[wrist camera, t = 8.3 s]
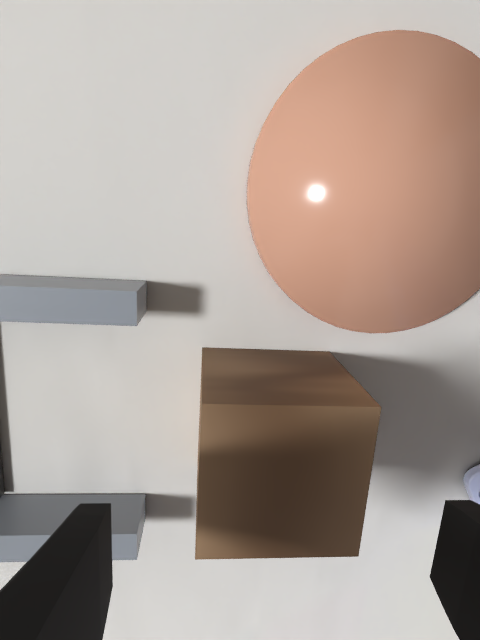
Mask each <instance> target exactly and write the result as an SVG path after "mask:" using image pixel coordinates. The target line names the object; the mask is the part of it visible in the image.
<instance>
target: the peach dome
mask: <svg viewBox="0 0 480 640" xmlns="http://www.w3.org/2000/svg"><path fill="white" fill-rule="evenodd" d="M247 210H248V219H249V225H250V229H251V233H252V237H253V241H254V243H255V246H256V248H257V251H258V254H259V256H260V258H261V260H262V262H263V264H264V265H265V267H266V269H267V271H268V273H269V274H270V275H271V277H272V278H273V279H274V281H275V282H276V284H277V285H278V286H279V287H280V288H281V289H282V290H283V291H284V292H285V293H286V294H287V295H288V296H289V298H291V299H292V300H293V301H294V302H295V303H296V304H298V305H299V306H300V307H301V308H303V309H304V310H305V311H307V312H308V313H310V314H311V315H313V316H315V317H317V318H318V319H320V320H322V321H324V322H327V323H329V324H331V325H334V326H336V327H340V328H343V329H347V330H351V331H357V332H365V333H390V332H397V331H404V330H408V329H411V328H415V327H419V326H422V325H424V324H427V323H429V322H431V321H434V320H436V319H438V318H440V317H442V316H444V315H445V314H447V313H449V312H451V311H452V310H454V309H455V308H457V307H458V306H459V305H461V304H462V303H464V302H465V301H466V300H468V299H469V298H470V297H471V296H472V295H473V294H474V293H475V292H476V291H478V290H479V289H480V58H478V57H477V56H476V55H475V54H473V53H472V52H471V51H469V50H467V49H466V48H464V47H462V46H460V45H459V44H457V43H455V42H453V41H450V40H448V39H445V38H443V37H440V36H437V35H433V34H429V33H424V32H419V31H406V30H393V31H383V32H376V33H372V34H368V35H364V36H360V37H357V38H355V39H352V40H350V41H347V42H345V43H343V44H340V45H338V46H336V47H335V48H333V49H331V50H330V51H328V52H326V53H325V54H323V55H321V56H320V57H319V58H317V59H316V60H315V61H314V62H312V63H311V64H310V65H309V66H307V67H306V68H305V69H304V70H303V71H302V72H301V73H300V74H299V75H298V76H297V77H296V78H295V79H294V80H293V81H292V82H291V83H290V84H289V85H288V87H287V88H286V89H285V91H284V92H283V93H282V95H281V96H280V97H279V99H278V100H277V101H276V103H275V105H274V106H273V108H272V110H271V111H270V113H269V115H268V117H267V119H266V120H265V122H264V124H263V126H262V128H261V131H260V133H259V136H258V138H257V141H256V143H255V146H254V150H253V153H252V157H251V161H250V165H249V172H248V180H247Z"/></svg>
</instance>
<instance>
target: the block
mask: <svg viewBox="0 0 480 640" xmlns="http://www.w3.org/2000/svg"><path fill="white" fill-rule="evenodd" d="M380 413H381V406H380V405H379V404H378V403H377V402H376V401H375V400H374V399H373V398H372V397H371V396H370V395H369V393H368V392H367V391H366V390H365V389H364V388H363V387H362V386H361V385H360V384H359V383H358V382H357V381H356V380H355V379H354V377H353V376H352V375H351V374H350V373H349V372H348V371H347V370H346V369H345V368H344V367H343V366H342V365H341V364H340V363H339V361H338V360H337V359H336V358H335V357H334V356H333V355H332V354H331V353H330V352H325V351H294V350H263V349H231V348H202V369H201V394H200V418H199V443H198V471H197V509H196V548H195V559H243V558H297V557H352V556H358V555H359V549H360V542H361V536H362V529H363V523H364V516H365V510H366V503H367V497H368V490H369V484H370V477H371V471H372V464H373V458H374V451H375V445H376V438H377V432H378V425H379V419H380Z"/></svg>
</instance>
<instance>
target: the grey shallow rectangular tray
mask: <svg viewBox="0 0 480 640" xmlns="http://www.w3.org/2000/svg"><path fill="white" fill-rule="evenodd" d="M146 297H147V281H136V280H114V279H92V278H70V277H48V276H26V275H4V274H0V321H7V322H35V323H64V324H93V325H121V326H137V325H138V323H139V322H140V320H141V319H142V317H143V315H144V314H145V312H146ZM3 493H4V481H3V470H2V458H1V447H0V562H28V560H29V559H30V558H31V557H32V556H33V555H34V554H35V553H36V552H37V551H38V549H39V548H40V547H41V546H42V545H43V544H44V543H45V542H46V541H47V539H48V538H49V537H50V536H51V535H52V534H53V533H54V532H55V530H56V529H57V528H58V527H59V526H60V525H61V524H62V522H63V521H64V520H65V519H66V518H67V517H68V515H69V514H70V513H71V512H72V511H73V510H74V509H75V508H76V507H77V506H78V505H79V504H80V503H111V528H112V560H137V557H138V552H139V547H140V542H141V537H142V532H143V527H144V522H145V494H22V495H3Z"/></svg>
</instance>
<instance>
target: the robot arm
mask: <svg viewBox="0 0 480 640" xmlns="http://www.w3.org/2000/svg"><path fill="white" fill-rule="evenodd" d="M463 481H464V485H465V488H466V490H467V493H468V496H469V498H470V500H445V505H444V510H443V515H442V520H441V525H440V530H439V535H438V540H437V545H436V549H435V554H434V559H433V564H432V569H431V574H430V578H431V581H432V583H433V585H434V588H435V590H436V592H437V594H438V597H439V599H440V601H441V603H442V606H443V608H444V610H445V612H446V614H447V616H448V618H449V620H450V622H451V624H452V626H453V629H454V630H455V632H456V634H457V636H458V637H459V639H460V640H480V492H479V491H480V464H479V465H477V466H475V467H473V468H471V469H469V470H468V471H467V472H466V474H465V475H464V478H463ZM112 586H113V583H112V528H111V503H80V504H79V505H78V506H77V507H76V508H75V509H74V510H73V511H72V512H71V513H70V514H69V515H68V517H67V518H66V519H65V520H64V521H63V522H62V524H61V525H60V526H59V527H58V528H57V529H56V530H55V532H54V533H53V534H52V535H51V536H50V537H49V538H48V539H47V541H46V542H45V543H44V544H43V545H42V546H41V547H40V548H39V549H38V551H37V552H36V553H35V554H34V555H33V556H32V557H31V558H30V559H29V560H28V562H27V563H26V564H25V565H24V566H23V567H22V568H21V569H20V570H19V571H18V572H17V573H16V574H15V575H14V576H13V577H12V579H11V580H10V581H9V582H8V583H7V584H6V585H5V586H4V587H3V588H2V589H1V590H0V640H102V638H103V633H104V628H105V623H106V618H107V613H108V608H109V602H110V597H111V591H112Z"/></svg>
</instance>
